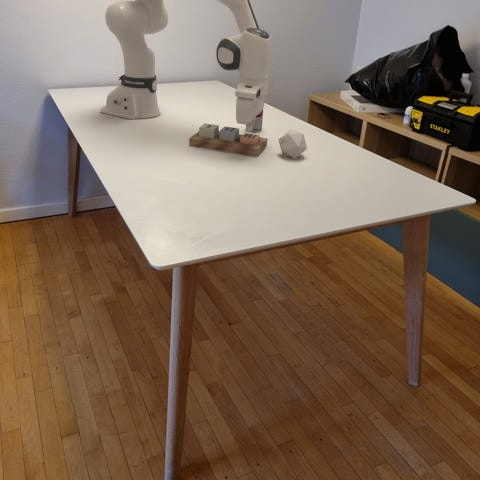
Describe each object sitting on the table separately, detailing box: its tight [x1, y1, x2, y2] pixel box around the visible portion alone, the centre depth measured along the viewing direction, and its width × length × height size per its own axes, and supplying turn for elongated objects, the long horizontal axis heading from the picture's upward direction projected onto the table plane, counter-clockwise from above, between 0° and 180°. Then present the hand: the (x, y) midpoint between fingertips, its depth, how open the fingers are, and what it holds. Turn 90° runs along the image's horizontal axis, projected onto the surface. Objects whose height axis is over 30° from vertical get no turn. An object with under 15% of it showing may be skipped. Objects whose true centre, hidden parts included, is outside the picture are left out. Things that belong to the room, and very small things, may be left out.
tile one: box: [198, 122, 220, 139], centre depth 160 cm, size 5×5×4 cm
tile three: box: [240, 132, 261, 145], centre depth 157 cm, size 5×5×4 cm
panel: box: [189, 130, 268, 158], centre depth 159 cm, size 23×12×2 cm, turn 74°
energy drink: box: [250, 109, 264, 133], centre depth 174 cm, size 5×5×12 cm
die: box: [278, 129, 308, 160], centre depth 154 cm, size 8×9×10 cm
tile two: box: [219, 125, 240, 142], centre depth 158 cm, size 5×5×4 cm
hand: (249, 130), depth 156 cm, fingers closed
